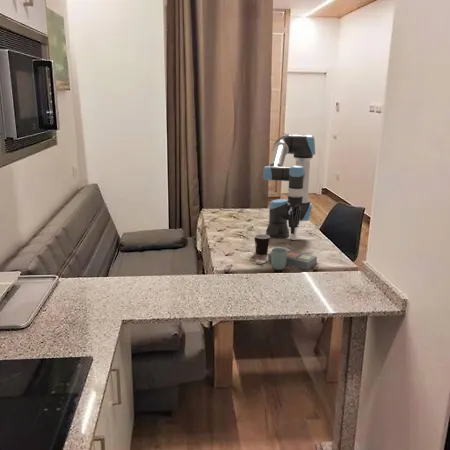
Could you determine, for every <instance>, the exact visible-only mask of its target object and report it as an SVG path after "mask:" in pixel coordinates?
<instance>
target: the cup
mask: <svg viewBox="0 0 450 450" xmlns="http://www.w3.org/2000/svg"><path fill="white" fill-rule="evenodd" d="M283 248H284V247H281V248H277V247H275V248H272V249H271V251H270V253H271V267H272V269H275V270H277V271H283V270H284V269H285V267H286V266H287V265H286V260H287V250H288V249H287V248H285V249H283ZM286 249H287V250H286Z"/></svg>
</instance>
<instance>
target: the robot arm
mask: <svg viewBox="0 0 450 450" xmlns="http://www.w3.org/2000/svg"><path fill="white" fill-rule="evenodd" d="M315 141H316V140H315V137H314V135H312V134H285V135H283V136H280V137H279V138H278V139H276V141H275V142H274V143H273V146H272V155H271V157H270V161H269V165H265V166H264V167H263V172H262V175H263V176H262V177H263V179H264V180H266V181H267V180H268V181H278V182H279V181H284V182H288V189H287V191H288V192H287V193H288V194H287V195H288V196H287V198H277V199H273V200H271V201H270V202H269V212H268V215H269V216H268V217H269V218H268V225H267V227H266V230H265V235H268V236H270V238H275V239H285V238H290V240H293V241H295V240H297V230H298V228H299V227H300V222H308V221H309V220H310V219H311V218H310V217H311V213H312V208H313V203H312V202H311V199H310V198H309V184H310V183H309V181H310V169H311V168H310V165H311V164H310V163H311V160H312V159H313V158H314V156H315V155H316V142H315ZM288 154H289V155H293V158H294V160H295V165H291V166H284V163H285V159H286V155H288ZM289 228H290V230H289Z"/></svg>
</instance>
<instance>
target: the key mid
mask: <svg viewBox="0 0 450 450" xmlns="http://www.w3.org/2000/svg"><path fill="white" fill-rule="evenodd" d="M299 255H300V254H297V253H292V252H290V253H288V254H287V256H288V257H293V258H296V257H298V256H299Z"/></svg>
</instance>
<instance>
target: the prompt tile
mask: <svg viewBox="0 0 450 450" xmlns="http://www.w3.org/2000/svg"><path fill="white" fill-rule="evenodd" d="M265 262H266V263H267V262H268V259H267V260H266V259H262V258H260V259H256V260H255V261H254V262H253V264H255V263H256V265H259V264H260V265H259V266H261V265H264V264H266V263H265Z"/></svg>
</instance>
